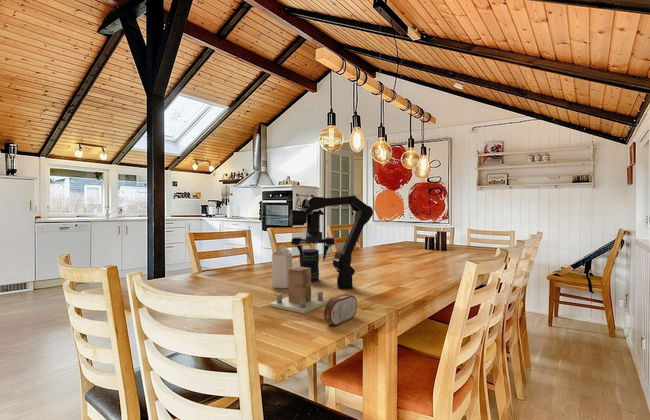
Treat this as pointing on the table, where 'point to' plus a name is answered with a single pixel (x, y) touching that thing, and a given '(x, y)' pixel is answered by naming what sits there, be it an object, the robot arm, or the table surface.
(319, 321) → the table surface
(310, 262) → the dark ribbed canister
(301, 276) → the walnut block
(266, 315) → the table surface
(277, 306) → the peg stand
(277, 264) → the milk carton
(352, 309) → the tin
